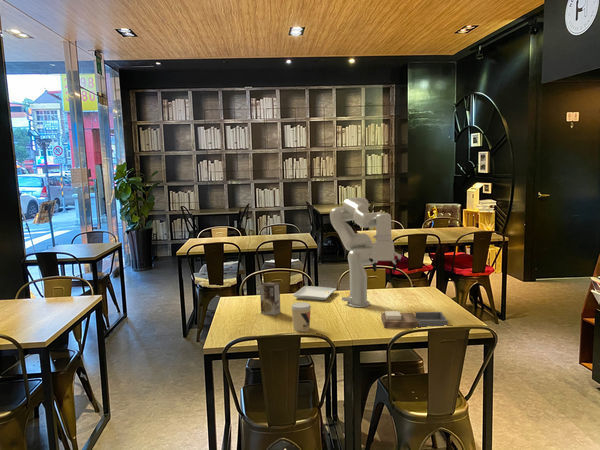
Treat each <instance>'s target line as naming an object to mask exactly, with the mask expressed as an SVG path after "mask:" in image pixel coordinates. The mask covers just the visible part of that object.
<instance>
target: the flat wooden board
mask: <svg viewBox="0 0 600 450" xmlns="http://www.w3.org/2000/svg"><path fill="white" fill-rule="evenodd" d="M400 314H401V320H387V319H386V316H385V312H381V314H380V315H381V317H380V318H381V319H380V320H381V322H382V324H383V329H417V328H416V327H418V321H417V319H416V317H415V314H414V313H413V312H400ZM418 328H419V327H418Z"/></svg>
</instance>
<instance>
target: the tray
mask: <svg viewBox="0 0 600 450" xmlns="http://www.w3.org/2000/svg"><path fill="white" fill-rule="evenodd" d="M414 313H415V314H414V316H415V317H416V319H417V321H418V328H419V327H427V326H444V325H448V324H449V320H448V319H447V318H446V317H445V315H444V314H443V312H442V311H415V312H414ZM448 326H449V325H448Z"/></svg>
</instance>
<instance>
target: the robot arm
mask: <svg viewBox="0 0 600 450" xmlns="http://www.w3.org/2000/svg"><path fill="white" fill-rule="evenodd" d="M369 207H370V205H369V201H368V199H367V198H365V197H361V196H358V197H357V196H356V197H349V198H345V200H344V201H343V203H342V206H337V207H336V206H335V207H334V208H332V209H331V210H330V213H329V219H330V223H331V225H332V227H333V228H334V230H335V231H336V232H337V234H338V236H339V238H340V240H341V243H342V244H343V246H344V248H345V250H347V251H348V255H347V261H348V268H349V295H348V296H347V297H345V296H341V301H343V302H346V303H347V304H346V305H347V306H349V307H352V308H366V307H369V306H370V304H371V303H370V301H369V300H368V275H367V274H368V273H367V271H366V269H365V267H364V266H371V265H372V270H373V272H376V271H377V263H378V262H392V263H393V264H392V272H393V273H395V272H396V271H397V264H398V263H399V262H400V261H401V258H402V257H403V256H402V254H400V253H398V252H396V251H395V245H394V241H393V240H392V239H393V238H392V216H391V214H390V213H384V212H381V211H377V212H369ZM349 221H354V223H355V224H356V225H358V226H360V227H361V228H363V229H364V228H365V229H368V228H375V230H376V234H375V235H373V239H375V241H374V242H373V241H372V238H371V237H370V236H369V235H368V234H367V233H365V232H364V233H361V232H360V233H357V232H356V233H355V232H354V230H353V228H352V226H350V225H349V223H347V222H349ZM395 257H397V259H395Z"/></svg>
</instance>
